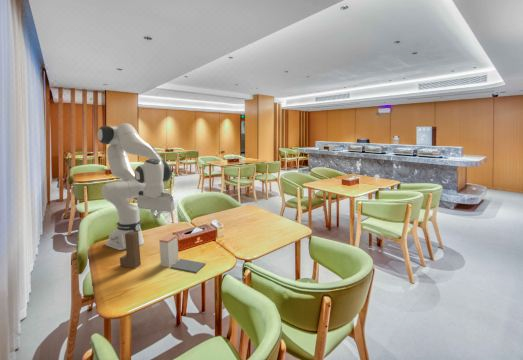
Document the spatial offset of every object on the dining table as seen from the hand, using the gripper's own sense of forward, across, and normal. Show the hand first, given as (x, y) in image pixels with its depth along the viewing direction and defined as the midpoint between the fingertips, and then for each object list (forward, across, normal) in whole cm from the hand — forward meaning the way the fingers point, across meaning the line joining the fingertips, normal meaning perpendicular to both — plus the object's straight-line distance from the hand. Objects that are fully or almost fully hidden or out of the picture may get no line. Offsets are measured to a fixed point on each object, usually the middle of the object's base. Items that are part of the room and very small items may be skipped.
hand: (156, 218), depth 141 cm
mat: (+24, -17, 0) cm, 29 cm away
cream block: (+24, -6, 0) cm, 25 cm away
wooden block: (+24, +11, +9) cm, 28 cm away
